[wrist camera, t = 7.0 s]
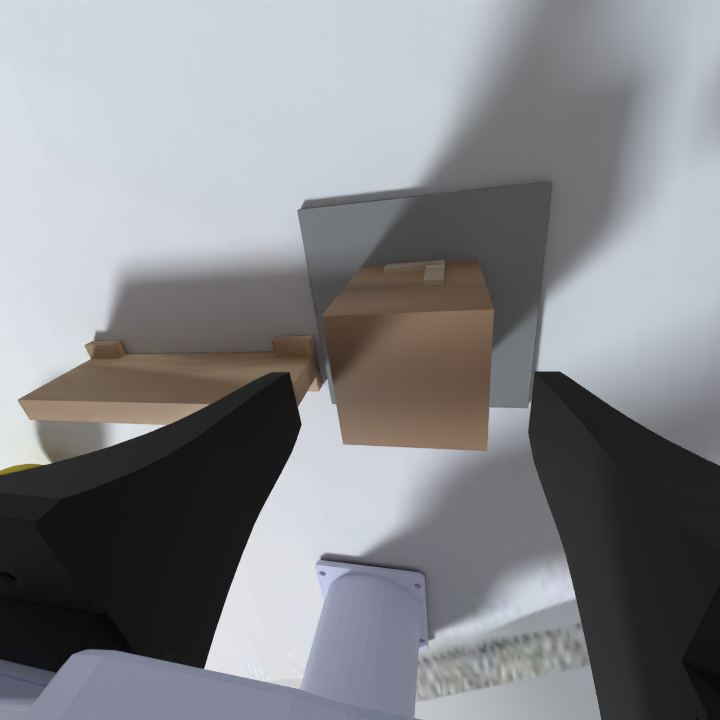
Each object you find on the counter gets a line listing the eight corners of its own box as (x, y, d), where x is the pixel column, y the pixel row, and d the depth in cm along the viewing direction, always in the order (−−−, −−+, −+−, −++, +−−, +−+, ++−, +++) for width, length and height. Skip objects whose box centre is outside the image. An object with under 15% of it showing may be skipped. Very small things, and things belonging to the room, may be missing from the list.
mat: (526, 404, 18) (528, 408, 18) (333, 400, 21) (332, 403, 20) (550, 181, 14) (552, 182, 14) (299, 209, 16) (297, 210, 16)
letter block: (475, 365, 18) (486, 450, 12) (372, 366, 19) (343, 444, 14) (478, 254, 15) (494, 302, 10) (360, 262, 16) (320, 309, 11)
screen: (322, 385, 20) (288, 446, 16) (113, 383, 24) (39, 433, 19) (312, 335, 19) (273, 386, 15) (93, 341, 22) (7, 384, 18)
